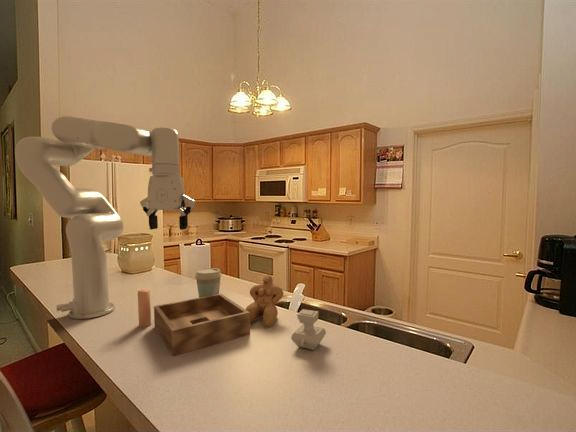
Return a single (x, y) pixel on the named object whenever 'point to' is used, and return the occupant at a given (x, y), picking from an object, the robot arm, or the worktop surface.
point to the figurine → (264, 301)
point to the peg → (144, 308)
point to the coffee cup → (208, 281)
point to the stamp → (308, 330)
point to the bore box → (200, 322)
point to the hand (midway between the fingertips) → (168, 229)
